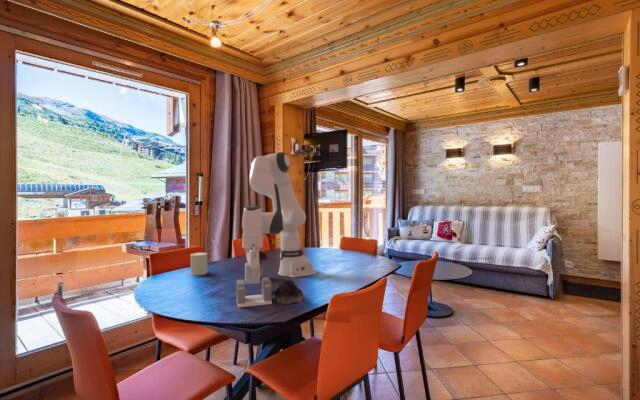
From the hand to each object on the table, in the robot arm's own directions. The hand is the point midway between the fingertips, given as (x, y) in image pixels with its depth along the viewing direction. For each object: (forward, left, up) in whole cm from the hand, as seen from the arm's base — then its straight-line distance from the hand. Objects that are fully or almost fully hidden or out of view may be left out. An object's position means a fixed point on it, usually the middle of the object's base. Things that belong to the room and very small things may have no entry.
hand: (252, 274), depth 139 cm
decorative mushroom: (-7, -39, -12) cm, 41 cm away
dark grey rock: (-16, +2, -12) cm, 20 cm away
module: (0, 0, -3) cm, 3 cm away
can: (+25, -59, -12) cm, 65 cm away
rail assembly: (0, 0, -12) cm, 12 cm away
